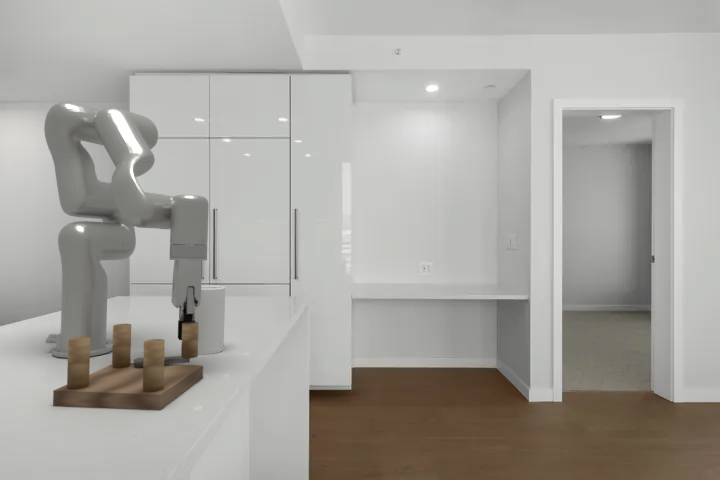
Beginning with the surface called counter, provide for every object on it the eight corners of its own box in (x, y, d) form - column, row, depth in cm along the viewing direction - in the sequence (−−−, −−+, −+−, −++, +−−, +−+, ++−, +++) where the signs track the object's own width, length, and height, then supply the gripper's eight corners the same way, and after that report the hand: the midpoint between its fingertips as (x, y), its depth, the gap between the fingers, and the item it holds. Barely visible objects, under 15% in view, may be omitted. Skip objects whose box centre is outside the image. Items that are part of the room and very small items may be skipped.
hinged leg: (133, 367, 89) (134, 327, 89) (133, 363, 92) (134, 324, 92) (198, 362, 94) (199, 324, 94) (196, 358, 97) (197, 321, 97)
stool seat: (52, 405, 76) (54, 341, 76) (115, 374, 94) (117, 322, 94) (160, 409, 75) (161, 344, 75) (202, 377, 93) (204, 325, 93)
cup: (204, 356, 111) (205, 289, 111) (182, 351, 115) (183, 286, 115) (230, 349, 118) (232, 287, 118) (208, 345, 122) (210, 284, 122)
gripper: (166, 251, 103) (164, 333, 103) (173, 254, 90) (170, 348, 90) (201, 252, 107) (199, 331, 107) (213, 254, 94) (210, 345, 93)
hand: (186, 338), depth 98 cm, fingers closed
